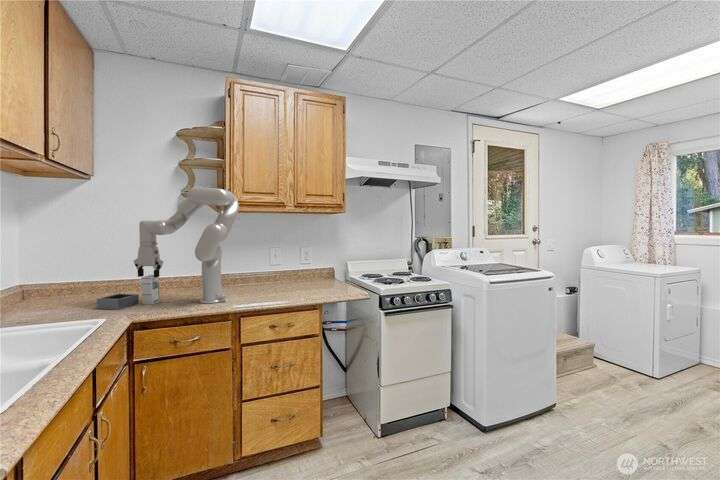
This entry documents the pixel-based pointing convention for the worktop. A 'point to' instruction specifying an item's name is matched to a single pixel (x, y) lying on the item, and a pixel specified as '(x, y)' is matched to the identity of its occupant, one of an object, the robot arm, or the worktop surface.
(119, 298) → the grey square tray
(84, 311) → the worktop surface
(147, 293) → the syrup box
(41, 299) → the worktop surface
